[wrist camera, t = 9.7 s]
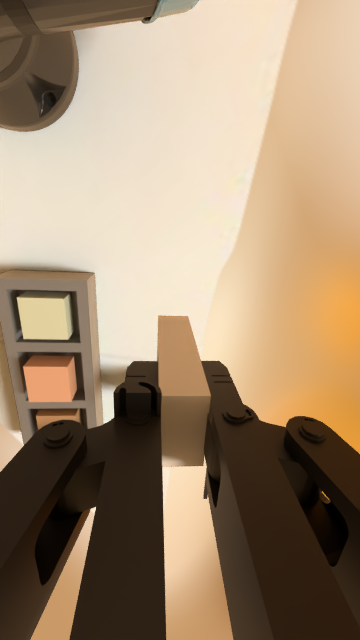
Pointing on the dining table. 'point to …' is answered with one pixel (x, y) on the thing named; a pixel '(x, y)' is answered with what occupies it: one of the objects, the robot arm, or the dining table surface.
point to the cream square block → (46, 315)
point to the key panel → (53, 343)
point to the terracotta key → (50, 378)
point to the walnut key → (57, 415)
